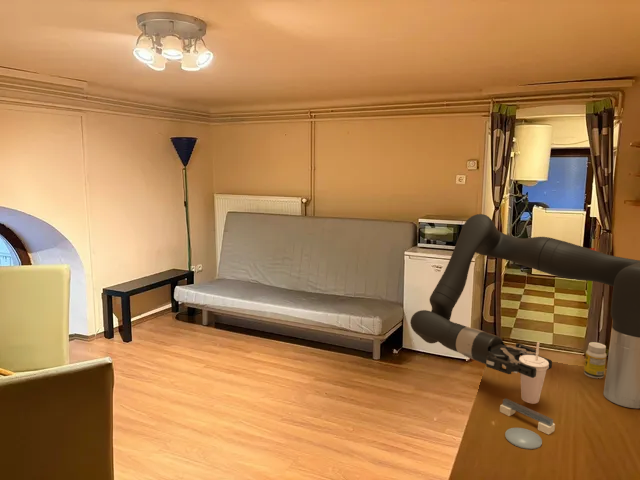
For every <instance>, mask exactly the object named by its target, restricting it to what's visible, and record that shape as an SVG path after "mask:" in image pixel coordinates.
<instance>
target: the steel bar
mask: <svg viewBox="0 0 640 480" xmlns="http://www.w3.org/2000/svg"><path fill="white" fill-rule="evenodd" d="M502 404H503V405H504V406H506V407H508V408H511V409H513V410H515V412H517V413H520V414H523V415H524V416H527V417H529V418H530V419H532V420H535V421H536V422H538V423H539V422H541V423H544V424H546V425H548V426H551V425H553V423H554V418H552V417H549V416H547V415H544V414H543V413H540V412H538V411H535V410H534V409H532V408H529V407H526V406H524V405H522V404H520V403H517V402H516V401H512V400H511V399H510V398H509V399H508V398H504V399H502Z"/></svg>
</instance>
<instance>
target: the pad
mask: <svg viewBox="0 0 640 480" xmlns="http://www.w3.org/2000/svg"><path fill="white" fill-rule="evenodd" d="M504 436H505V439H506V440H507V441H508V443H510V444H512V445H513V446H515V447H518V448H520V449H524V450H535V449H536V450H537V449H539V448H540V447H542V443H543V439H542V437H541V436H540V434H538V433H536V432H534V431H532V430H530V429H527V428H523V427H511V428H508V429H507V430H506V431H505V433H504Z"/></svg>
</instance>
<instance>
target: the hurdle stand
mask: <svg viewBox="0 0 640 480" xmlns="http://www.w3.org/2000/svg"><path fill="white" fill-rule="evenodd" d="M499 413H501V414H503V415H506V416H508V417H510V416H512V415H514V414H515V413H516V411H515V410H513V409H511V408H508V407H506V406H504V405H503V403H502V404H500V406H499ZM537 424H538V425H537V430H538V431H539V432H542V433H544V434H546V435H551V434H552V433H554V432H555V430H556V429H555V428H556V424H555V423H554V422H553V425H551V426H548V425H546V424H544V423H541V422H539V421H538V423H537Z"/></svg>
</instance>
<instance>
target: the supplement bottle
mask: <svg viewBox="0 0 640 480" xmlns="http://www.w3.org/2000/svg"><path fill="white" fill-rule="evenodd" d="M606 350H607V346H606V345H605V344H604V343H600V342H595V341H594V342H593V341H591V342H589V343H588V346H587V349H586V352H585V360H584V367H583V374H584V375H585V376H587V377H588V378H593V379H598V378H599V379H603V378H604V377H605V373H606V372H605V371H606V365H607V364H606V362H607V353H606Z"/></svg>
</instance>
